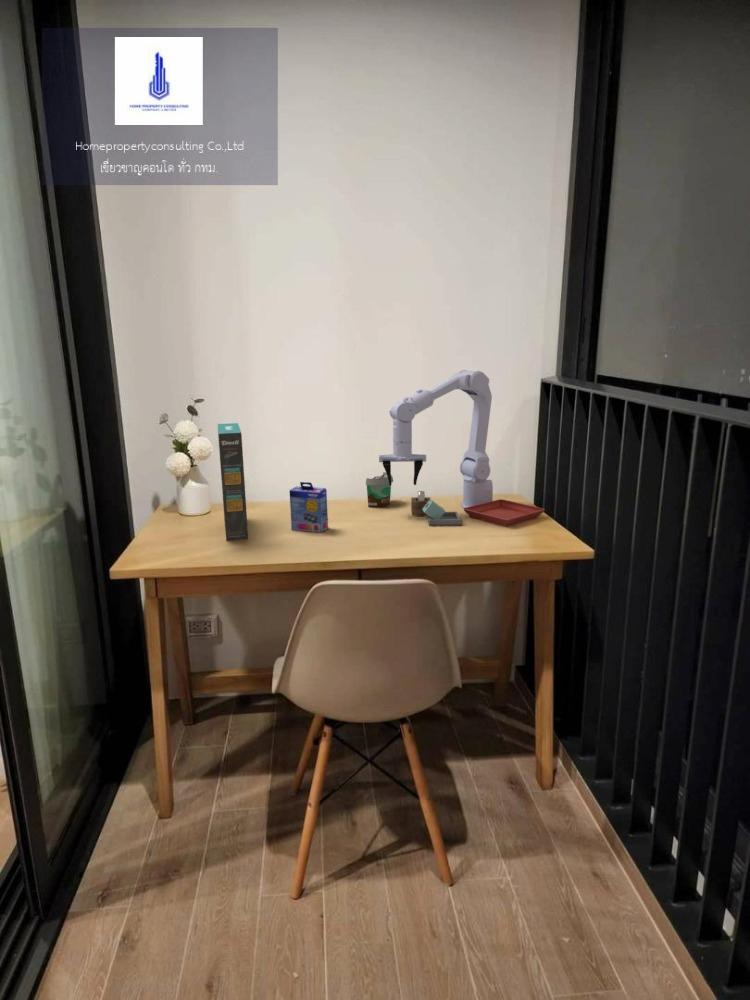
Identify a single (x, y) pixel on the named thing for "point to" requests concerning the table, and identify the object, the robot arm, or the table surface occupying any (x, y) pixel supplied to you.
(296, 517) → the ink cartridge box
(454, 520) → the tray
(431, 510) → the teal block
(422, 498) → the steel pin
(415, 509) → the walnut block
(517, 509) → the plant saucer
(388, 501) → the food container
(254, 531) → the table surface
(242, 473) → the cake mix box
